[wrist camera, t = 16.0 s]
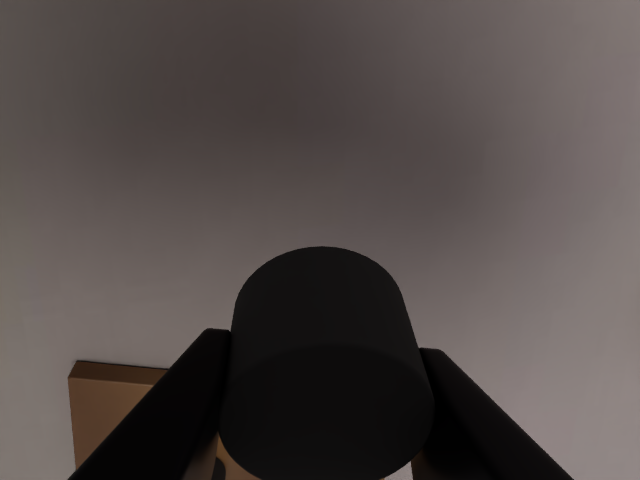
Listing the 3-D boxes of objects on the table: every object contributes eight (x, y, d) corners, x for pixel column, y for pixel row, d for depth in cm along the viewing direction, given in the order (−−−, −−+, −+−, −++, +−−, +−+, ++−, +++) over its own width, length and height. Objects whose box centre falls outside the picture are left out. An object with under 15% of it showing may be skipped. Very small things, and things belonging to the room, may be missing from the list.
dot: (228, 371, 10) (210, 488, 8) (241, 234, 8) (222, 332, 6) (382, 384, 10) (406, 498, 8) (422, 255, 9) (464, 354, 7)
